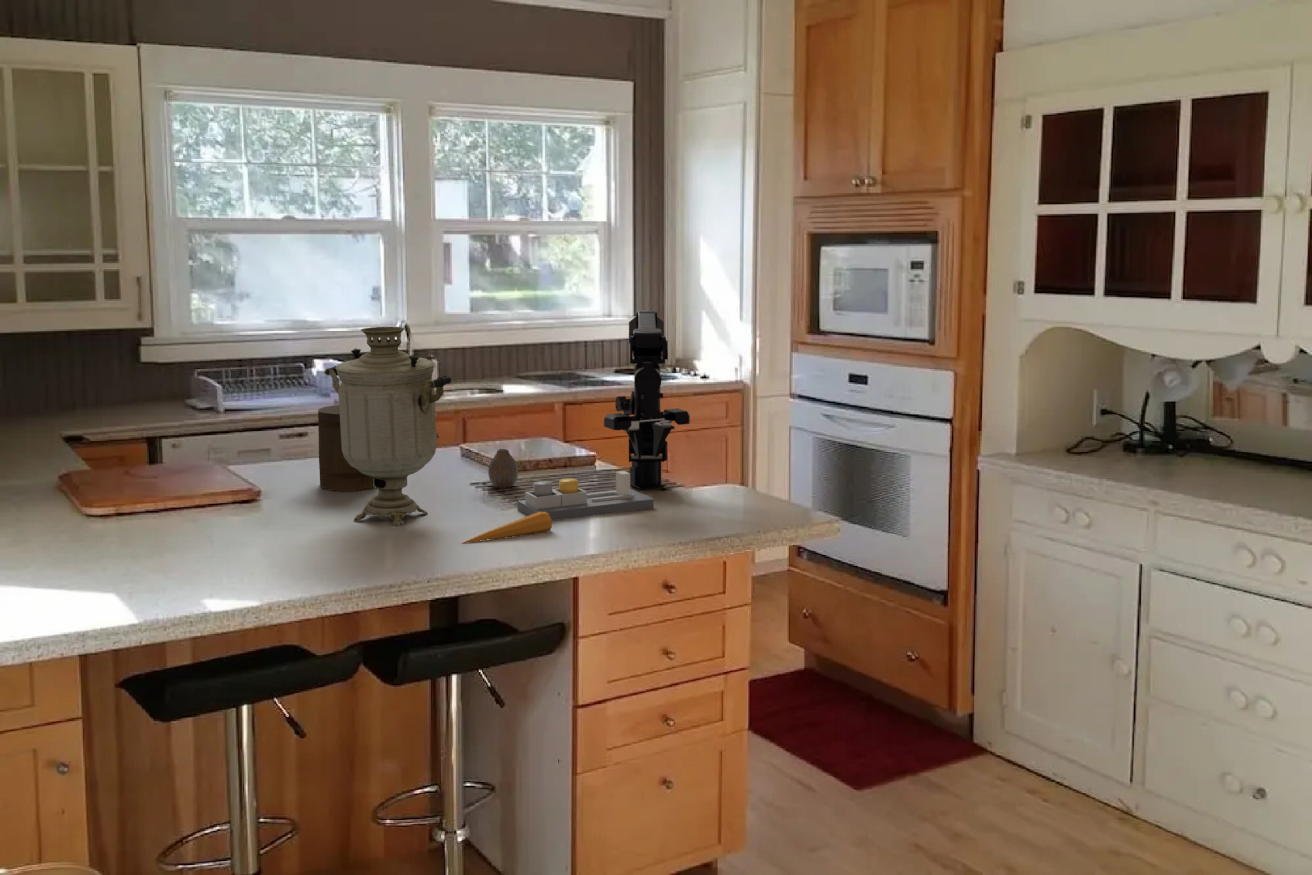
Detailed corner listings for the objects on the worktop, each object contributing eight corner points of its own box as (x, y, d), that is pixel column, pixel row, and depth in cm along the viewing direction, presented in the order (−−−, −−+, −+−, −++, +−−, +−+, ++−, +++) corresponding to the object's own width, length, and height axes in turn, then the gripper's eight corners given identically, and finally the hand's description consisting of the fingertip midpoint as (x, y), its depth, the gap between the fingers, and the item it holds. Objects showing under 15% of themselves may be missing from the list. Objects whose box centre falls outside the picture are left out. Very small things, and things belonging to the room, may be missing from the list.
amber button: (573, 491, 272) (573, 477, 272) (581, 495, 269) (581, 481, 268) (556, 493, 271) (556, 479, 270) (564, 497, 267) (563, 483, 267)
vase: (521, 483, 297) (520, 447, 295) (514, 490, 290) (514, 452, 289) (492, 482, 298) (491, 446, 296) (485, 489, 291) (484, 452, 289)
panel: (629, 496, 284) (629, 477, 283) (653, 508, 273) (653, 487, 272) (517, 509, 271) (517, 489, 271) (538, 521, 261) (538, 500, 260)
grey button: (548, 494, 270) (547, 480, 269) (555, 497, 266) (555, 484, 266) (530, 496, 268) (530, 482, 267) (537, 499, 264) (537, 486, 264)
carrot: (548, 532, 256) (542, 511, 256) (557, 529, 252) (551, 507, 253) (459, 556, 246) (453, 534, 246) (466, 553, 242) (460, 530, 242)
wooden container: (397, 482, 298) (394, 391, 294) (351, 494, 285) (347, 399, 281) (353, 475, 305) (349, 386, 301) (306, 486, 293) (301, 393, 289)
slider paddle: (624, 492, 278) (624, 470, 277) (630, 495, 275) (630, 473, 274) (616, 493, 277) (615, 471, 276) (621, 496, 274) (621, 474, 273)
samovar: (496, 516, 265) (492, 328, 258) (393, 540, 247) (385, 337, 239) (412, 494, 285) (406, 318, 278) (310, 514, 267) (301, 326, 259)
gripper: (667, 380, 286) (667, 447, 289) (593, 385, 277) (593, 454, 280) (691, 386, 276) (690, 456, 279) (615, 392, 268) (615, 464, 270)
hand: (647, 457), depth 277 cm, fingers open, 4 cm apart
